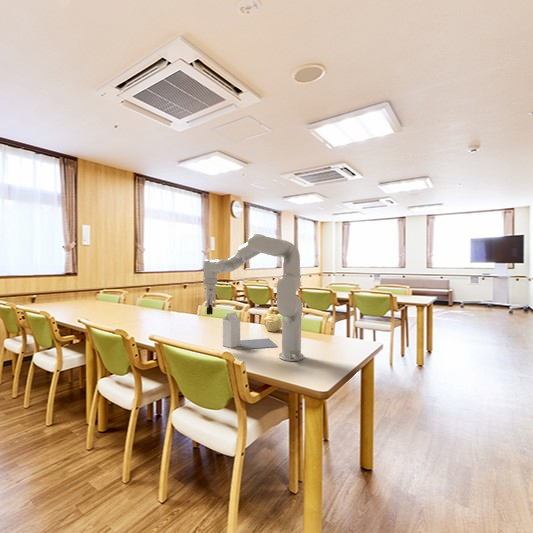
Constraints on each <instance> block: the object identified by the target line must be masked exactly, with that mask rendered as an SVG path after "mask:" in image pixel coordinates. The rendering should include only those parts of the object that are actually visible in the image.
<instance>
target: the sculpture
mask: <svg viewBox="0 0 533 533" xmlns="http://www.w3.org/2000/svg"><path fill="white" fill-rule="evenodd" d="M263 326H264V327H265V329H266V330H267V331H268V332H271V333H272V332H273V333H274V332H278V331H280V330H281V329H282V320H281V318H280V317H279V316H277V315H268V316H265V317H264V319H263Z"/></svg>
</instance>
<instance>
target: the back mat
mask: <svg viewBox="0 0 533 533" xmlns="http://www.w3.org/2000/svg"><path fill="white" fill-rule="evenodd" d="M239 347H241V349H242V350H257V349H270V348H278V345H277V344H276V343H275V342H274V341H273V340H272V339H270V337H269V338H253V339H240V346H239Z"/></svg>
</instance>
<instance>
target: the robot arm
mask: <svg viewBox="0 0 533 533" xmlns="http://www.w3.org/2000/svg"><path fill="white" fill-rule="evenodd" d="M260 254H264V255H268V256H271V257H282V258H283V264H282V266H283V267H282V268H283V269H282V270H283V271H282V274H283V275H281V276H280V277H279V278H278V281H277V283H276V308H277V312H278V313H279V315H280V316H282V320H281V331H282V332H281V338H282V339H281V341H282V342H281V352H280V353H278V357H279V359H280V360H282V361H288V362H299V361H302V360H304V358H305V354H303V353H302V317H303V315H302V314H303V301H302V299H301V298H300V297H299V296H298V295H297V291H299V289H301V285H302V284H301V256H300V252H299V249H298V248H297V247H296V245H294V244H293V242H290V241H287V240H285V239H281V238H275V237H270V236H267V235H264V234H261V233H254V234H251V235H250V236H248V239H247V241H246V242H245V243H244V244H241V245H239V247H238V248H237V252H236V253H235V254H234V255H233V256H230V257H229V258H227V259H226V258H223V259H222V258H220V259H211V258H210V259H204V260H203V285H205V291H204V292H205V293H204V294H205V301H206V315H213V312H214V308H213V306H214V305H213V302H214V303H216V302H217V300H216V299H217V297H216V296H217V295H216V293H217V292H216V285H218V274H224V273H225V274H226V273H231V272H233V271H235V270H237V269H239V268H240V267H242V266H244V265H245V264H246V263H247V262H248V261H249V260H251V259H253V258H254V257H256V256H258V255H260Z"/></svg>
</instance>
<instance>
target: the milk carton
mask: <svg viewBox="0 0 533 533" xmlns="http://www.w3.org/2000/svg"><path fill="white" fill-rule="evenodd" d="M240 340H241V319H240V317H239V315H238V313H237V311H234V312H227V313H226V316H224V318H223V319H222V346H223V347H227V348H229V349H232V348H235V347H241V346H240Z"/></svg>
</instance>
